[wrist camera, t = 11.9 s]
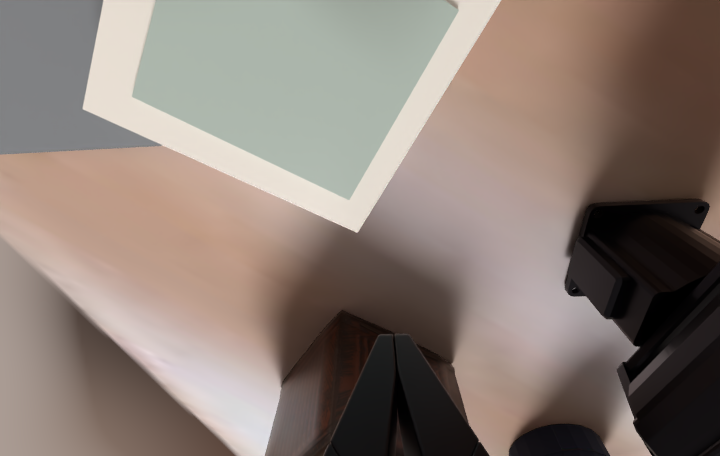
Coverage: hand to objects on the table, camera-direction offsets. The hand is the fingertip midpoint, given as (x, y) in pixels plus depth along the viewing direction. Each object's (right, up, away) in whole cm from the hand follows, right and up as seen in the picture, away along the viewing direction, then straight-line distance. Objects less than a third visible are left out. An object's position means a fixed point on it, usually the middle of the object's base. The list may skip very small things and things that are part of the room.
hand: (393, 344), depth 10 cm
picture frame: (-10, +13, +4) cm, 17 cm away
